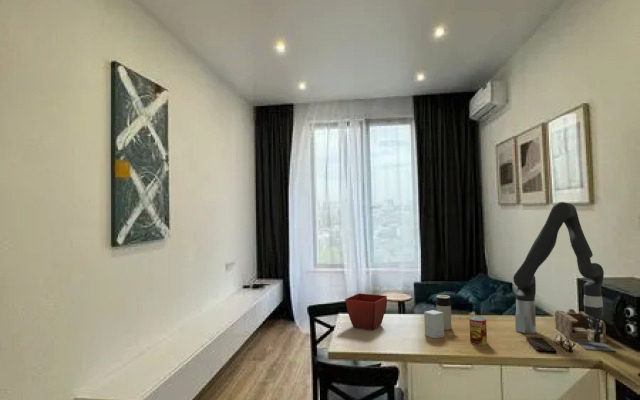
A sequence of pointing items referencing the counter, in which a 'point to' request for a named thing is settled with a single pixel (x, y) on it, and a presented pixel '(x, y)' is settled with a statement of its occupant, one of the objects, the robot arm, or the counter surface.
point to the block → (591, 336)
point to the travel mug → (444, 309)
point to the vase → (571, 311)
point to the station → (579, 330)
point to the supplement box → (434, 324)
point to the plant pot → (366, 310)
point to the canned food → (478, 330)
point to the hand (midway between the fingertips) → (595, 340)
